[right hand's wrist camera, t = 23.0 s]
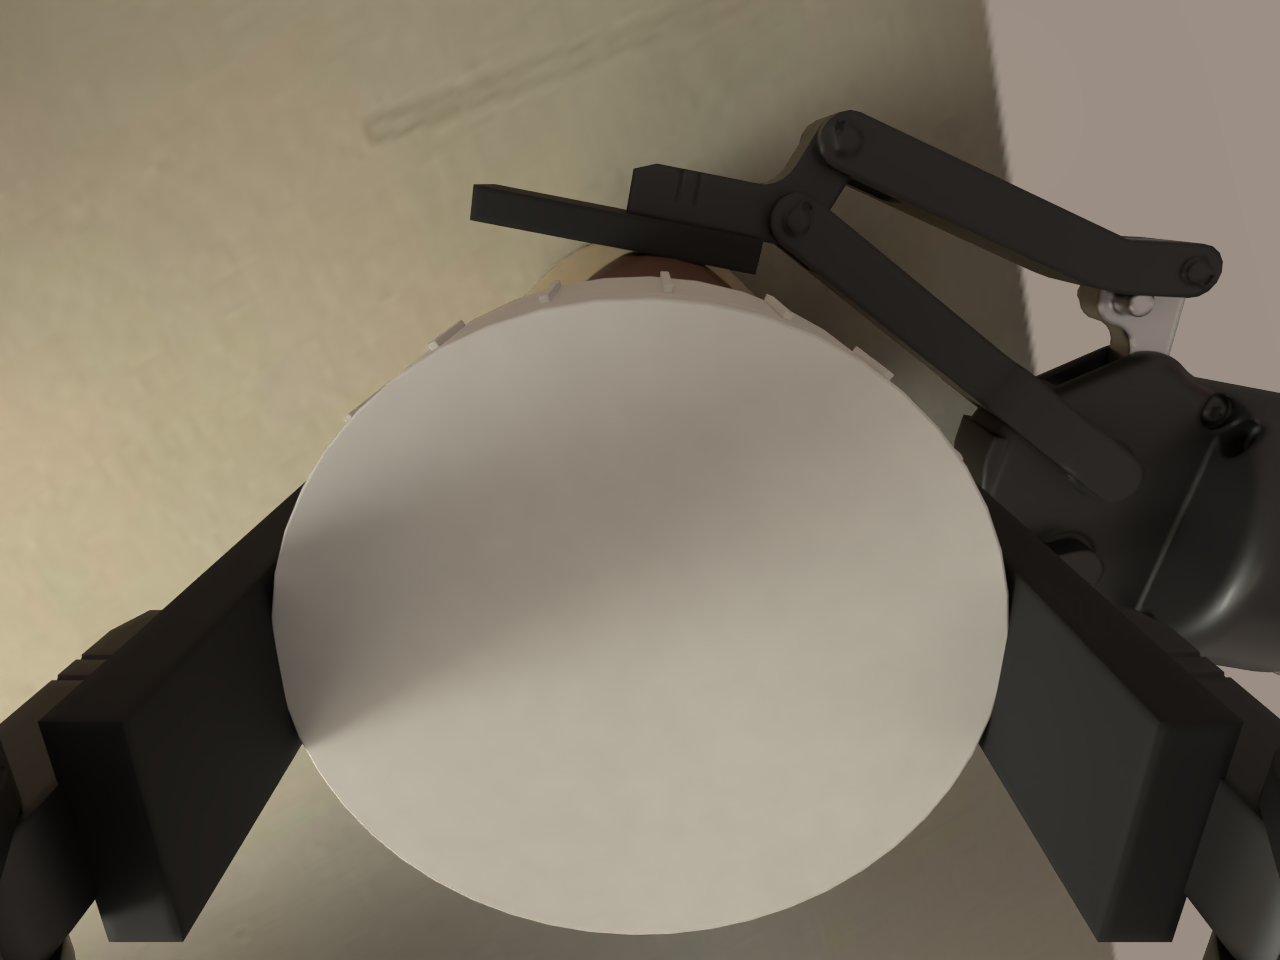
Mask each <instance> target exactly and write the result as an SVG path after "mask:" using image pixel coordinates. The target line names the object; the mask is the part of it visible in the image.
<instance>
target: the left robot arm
mask: <svg viewBox="0 0 1280 960" xmlns="http://www.w3.org/2000/svg"><path fill="white" fill-rule="evenodd" d="M845 186H848V187H851V188H853V189H855V190H857V191H859V192H862V193H864V194H866V195H868V196H870V197H872V198H875V199H877V200H879V201H881V202H883V203H885V204H888V205H890V206H892V207H894V208H896V209H898V210H901V211H903V212H905V213H907V214H909V215H912V216H914V217H916V218H918V219H920V220H922V221H925V222H927V223H929V224H931V225H933V226H935V227H938V228H940V229H942V230H944V231H946V232H948V233H951V234H953V235H955V236H957V237H959V238H961V239H964V240H966V241H968V242H970V243H972V244H975V245H977V246H979V247H981V248H983V249H985V250H988V251H990V252H992V253H994V254H996V255H998V256H1001V257H1003V258H1005V259H1007V260H1009V261H1011V262H1014V263H1016V264H1018V265H1020V266H1022V267H1025V268H1027V269H1029V270H1031V271H1034V272H1036V273H1039V274H1041V275H1044V276H1046V277H1049V278H1053V279H1057V280H1062V281H1066V282H1070V283H1074V284H1078V285H1080V287H1079V289H1078V293H1077V296H1078V298H1079V300H1080V306H1081V309H1082V310H1083V312H1084V313H1085V314H1086V315H1087V316H1088V317H1091V318H1094V319H1096V320H1099V321H1102V322H1103V323H1104V324H1105V325H1106V326H1107V327H1108V329H1109V331H1110V336H1111V341H1110V345H1109V346H1105V347H1103V348H1100V349H1098V350H1096V351H1093V352H1091V353H1089V354H1086V355H1084V356H1082V357H1079V358H1077V359H1075V360H1073V361H1070V362H1068V363H1066V364H1063V365H1061V366H1059V367H1056V368H1054V369H1052V370H1049V371H1047V372H1045V373H1042V374H1040V375H1038V376H1034V375H1033V374H1031V373H1030V372H1029V371H1027V370H1026V369H1024V368H1023V367H1021V366H1020V365H1018V364H1017V363H1015V362H1014V361H1013V360H1011V359H1010V358H1009V357H1007V356H1006V355H1005V354H1004V353H1002V352H1001V351H1000V350H999V349H998V348H996V347H995V346H994V345H993V344H992V343H990V342H989V341H988V340H987V339H985V338H984V337H983V336H982V335H981V334H979V333H978V332H977V331H976V330H975V329H973V328H972V327H971V326H970V325H968V324H967V323H966V322H965V321H964V320H962V319H961V318H960V317H959V316H958V315H956V314H955V313H954V312H953V311H952V310H950V309H949V308H948V307H947V306H945V305H944V304H943V303H942V302H941V301H939V300H938V299H937V298H936V297H935V296H933V295H932V294H931V293H930V292H929V291H927V290H926V289H925V288H924V287H922V286H921V285H920V284H919V283H918V282H916V281H915V280H914V279H913V278H912V277H910V276H909V275H908V274H907V273H906V272H904V271H903V270H902V269H901V268H899V267H898V266H897V265H896V264H895V263H893V262H892V261H891V260H890V259H889V258H887V257H886V256H885V255H884V254H882V253H881V252H880V251H879V250H878V249H876V248H875V247H874V246H873V245H872V244H870V243H869V242H868V241H867V240H866V239H864V238H863V237H862V236H861V235H859V234H858V233H857V232H856V231H855V230H853V229H852V228H851V227H850V226H849V225H847V224H846V223H845V222H844V221H843V220H841V219H840V218H839V217H838V216H836V215H835V214H834V213H833V212H832V211H830V209H831V208H832V206H833V204H834V203H835V201H836V200H837V198H838V197H839V195H840V193H841V192H842V190H843V189H844V187H845ZM470 220H473V221H478V222H483V223H489V224H494V225H499V226H504V227H509V228H515V229H520V230H525V231H530V232H536V233H541V234H546V235H551V236H556V237H562V238H567V239H572V240H577V241H583V242H588V243H593V244H598V245H603V246H609V247H614V248H619V249H624V250H630V251H635V252H640V253H645V254H650V255H656V256H661V257H666V258H672V259H677V260H682V261H687V262H692V263H697V264H703V265H708V266H713V267H718V268H724V269H729V270H734V271H739V272H744V273H750V274H756V270H757V266H758V261H759V257H760V253H761V248H762V244H763V242H768V243H773V244H774V245H776V246H777V247H778V248H779V249H781V250H782V251H783V252H785V253H786V254H787V255H788V256H790V257H791V258H792V259H793V260H795V261H796V262H797V263H798V264H800V265H801V266H802V267H803V268H805V269H806V270H807V271H808V272H810V273H811V274H812V275H813V276H815V277H816V278H817V279H818V280H820V281H821V282H822V283H823V284H825V285H826V286H827V287H828V288H830V289H831V290H832V291H833V292H835V293H836V294H837V295H838V296H840V297H841V298H842V299H843V300H845V301H846V302H847V303H848V304H850V305H851V306H852V307H853V308H855V309H856V310H857V311H858V312H860V313H861V314H862V315H863V316H865V317H866V318H867V319H868V320H870V321H871V322H872V323H873V324H875V325H876V326H877V327H878V328H880V329H881V330H882V331H884V332H885V333H886V334H887V335H889V336H890V337H891V338H892V339H894V340H895V341H896V342H897V343H899V344H900V345H901V346H902V347H904V348H905V349H906V350H907V351H909V352H910V353H911V354H912V355H914V356H915V357H916V358H917V359H919V360H920V361H921V362H922V363H924V364H925V365H926V366H927V367H929V368H930V369H931V370H932V371H934V372H935V373H936V374H937V375H939V376H940V377H941V378H942V379H943V380H944V381H945V382H946V383H947V384H949V385H950V386H951V387H952V388H954V389H955V390H956V391H957V392H959V393H960V394H961V395H962V396H964V397H965V398H966V399H968V400H969V401H970V402H971V403H973V404H974V405H975V406H976V407H978V409H977V410H976V411H975V412H974V414H973V415H972V416H968V415H963V418H962V421H961V424H960V427H959V430H958V433H957V436H956V438H955V444H954V448H955V449H956V450H957V451H958V452H959V453H960V454H961V456H962V457H963V462H964V463H965V465H966V466H967V468H968V470H969V472H970V474H971V476H972V478H973V480H974V481H975V482H976V483H977V484H978V485H980V486H981V487H982V488H983V489H984V490H985V491H986V492H987V493H988V494H990V495H991V496H992V497H993V498H994V499H995V500H996V501H997V502H999V503H1000V504H1001V505H1002V506H1003V507H1004V508H1005V509H1006V510H1007V511H1009V512H1010V513H1011V514H1012V515H1013V516H1014V517H1015V518H1016V519H1018V520H1019V521H1020V522H1021V523H1022V524H1023V525H1024V526H1025V527H1026V528H1028V529H1029V530H1030V531H1031V532H1032V533H1033V534H1034V535H1035V536H1037V537H1038V538H1039V539H1040V540H1041V541H1042V542H1043V543H1044V544H1045V545H1047V546H1048V547H1049V548H1050V549H1051V550H1052V551H1053V552H1054V553H1056V554H1057V555H1058V556H1059V557H1060V558H1061V559H1062V560H1063V561H1064V562H1066V563H1067V564H1068V565H1069V566H1070V567H1071V568H1072V569H1073V570H1075V571H1076V572H1077V573H1078V574H1079V575H1080V576H1081V577H1082V578H1083V579H1085V580H1086V581H1087V582H1088V583H1089V584H1090V585H1091V586H1092V587H1094V588H1095V589H1096V590H1097V591H1098V592H1099V593H1100V594H1101V595H1102V596H1104V597H1105V598H1106V599H1107V600H1108V601H1109V602H1110V603H1111V604H1113V605H1114V606H1115V607H1116V608H1134V609H1135V610H1137V611H1139V612H1141V613H1143V614H1145V615H1147V616H1149V617H1151V618H1153V619H1155V620H1157V621H1159V622H1161V623H1163V624H1165V625H1167V626H1169V627H1171V628H1172V629H1173V630H1175V631H1176V632H1177V633H1178V634H1179V635H1180V636H1182V637H1183V638H1184V639H1185V640H1186V641H1188V642H1189V643H1190V644H1191V645H1192V646H1194V647H1195V648H1196V649H1197V650H1198V651H1200V656H1201V657H1207V658H1208V659H1209V660H1210V661H1211V662H1213V663H1214V664H1215V665H1220V666H1226V667H1232V668H1238V669H1244V670H1250V671H1259V672H1273V673H1275V674H1278V675H1280V393H1276V392H1271V391H1266V390H1261V389H1256V388H1250V387H1245V386H1240V385H1234V384H1229V383H1224V382H1219V381H1213V380H1208V379H1203V378H1197V377H1194V376H1192V375H1191V374H1190V373H1188V372H1187V371H1186V370H1185V368H1184V367H1183V366H1182V365H1181V364H1180V363H1179V362H1178V361H1177V360H1175V359H1174V358H1172V357H1170V356H1169V354H1170V350H1171V347H1172V343H1173V340H1174V336H1175V332H1176V329H1177V325H1178V322H1179V318H1180V315H1181V311H1182V308H1183V304H1184V301H1185V298H1191V297H1197V296H1200V295H1202V294H1204V293H1206V292H1208V291H1209V290H1210V289H1211V288H1212V287H1213V286H1214V285H1215V284H1216V283H1217V281H1218V279H1219V277H1220V275H1221V273H1222V264H1223V261H1222V258H1221V255H1220V253H1219V252H1218V251H1217V250H1216V249H1215V248H1214V247H1213V246H1209V245H1206V244H1200V243H1191V242H1181V241H1172V240H1163V239H1154V238H1144V237H1128V236H1120V235H1118V234H1116V233H1113V232H1111V231H1109V230H1107V229H1105V228H1103V227H1101V226H1099V225H1097V224H1095V223H1092V222H1090V221H1088V220H1086V219H1084V218H1082V217H1080V216H1078V215H1076V214H1074V213H1071V212H1069V211H1067V210H1065V209H1063V208H1061V207H1059V206H1057V205H1055V204H1052V203H1050V202H1048V201H1046V200H1044V199H1042V198H1040V197H1038V196H1036V195H1034V194H1031V193H1029V192H1027V191H1025V190H1023V189H1021V188H1019V187H1017V186H1015V185H1013V184H1010V183H1008V182H1006V181H1004V180H1002V179H1000V178H998V177H996V176H994V175H991V174H989V173H987V172H985V171H983V170H981V169H979V168H977V167H975V166H973V165H970V164H968V163H966V162H964V161H962V160H960V159H958V158H956V157H954V156H952V155H949V154H947V153H945V152H943V151H941V150H939V149H937V148H935V147H933V146H930V145H928V144H926V143H924V142H922V141H920V140H918V139H916V138H914V137H912V136H909V135H907V134H905V133H903V132H901V131H899V130H897V129H895V128H893V127H891V126H888V125H886V124H884V123H882V122H880V121H878V120H876V119H874V118H872V117H869V116H867V115H865V114H863V113H861V112H857V111H852V110H848V111H843V112H839V113H836V114H833V115H830V116H828V117H825V118H822V119H819V120H816V121H815V122H813V123H812V124H810V125H809V126H808V127H807V128H806V129H805V131H804V132H803V134H802V135H801V139H800V143H799V145H798V147H797V148H796V150H795V152H794V153H793V155H792V157H791V158H790V160H789V162H788V163H787V165H786V167H785V168H784V169H783V171H782V172H781V173H780V174H779V175H778V176H777V177H775V178H774V179H773V180H770V181H768V182H766V183H762V184H757V183H752V182H747V181H742V180H737V179H732V178H727V177H721V176H716V175H711V174H706V173H701V172H696V171H691V170H686V169H681V168H676V167H671V166H666V165H661V164H654V165H649V166H644V167H640V168H635V169H634V170H633V176H632V182H631V187H630V193H629V199H628V205H627V210H624V209H619V208H614V207H609V206H604V205H599V204H594V203H589V202H583V201H578V200H573V199H568V198H563V197H558V196H553V195H547V194H542V193H537V192H532V191H527V190H522V189H517V188H512V187H506V186H501V185H496V184H474V187H473V196H472V206H471V216H470Z"/></svg>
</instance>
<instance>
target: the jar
mask: <svg viewBox="0 0 1280 960" xmlns="http://www.w3.org/2000/svg"><path fill="white" fill-rule="evenodd" d="M661 271H665V272H669V275H670V278H672V279H682V280H692V281H700V282H704V283H708V284H712V285H716V286H721V287H725V288H729V289H733V290H738V291H742V292H745V293H747V294H750V295H752V296H755V295H754V294H753V293H752V292H751V291H750V290H749V289H748V288H747V287H746V286H745V285H744V284H743V283H742V282H741V281H740V280H739V279H738V278H737V277H736V276H735V275H734V274H733V273H732V272H731V271H730V270H729V269H724V268H718V267H713V266H708V265H703V264H697V263H692V262H687V261H682V260H677V259H672V258H666V257H661V256H656V255H650V254H645V253H640V252H635V251H630V250H624V249H619V248H614V247H609V246H603V245H598V244H593V243H592V244H590V245H588V246H585V247H583V248H581V249H579V250H577V251H576V252H574V253H572V254H571V255H569V256H568V257H566V258H565V259H563V260H562V261H561V262H560V263H558V264H557V265H556V266H555V267H554V268H553V269H551V270H550V271H549V272H548V273H547V274H546V275H545V276H544V277H543V278H542V279H541V280H540V281H539V282H538V283H537V284H536V285H535V286H534V287H533V288H532V289H531V290H530V291H529V292H528V293H527V294H526V295H525V296H524V297H526V296H529V295H532V294H535V293H538V292H541V291H545V290H546V289H547V288H548V286H549V285H550V284H551V283H552V282H553V281H557V280H560V281H561V285H568V284H574V283H579V282H585V281H591V280H597V279H602V278H623V277H649V276H651V277H660V273H661ZM755 297H756V296H755Z"/></svg>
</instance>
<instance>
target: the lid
mask: <svg viewBox="0 0 1280 960" xmlns="http://www.w3.org/2000/svg"><path fill="white" fill-rule="evenodd" d="M428 346H429V347H430V348H431V349H430V350H429V351H427V352H426V353H425V354H424V355H422V356H421V357H420V358H419V359H417V360H416V361H415V362H413V363H412V364H411V365H410V366H408V367H407V368H406V369H405V370H403V371H402V372H401V373H400V374H398V375H397V376H396V377H395V378H393V379H392V380H391V381H390V382H389V383H388V384H387V385H385V386H383V387H382V388H381V389H379V390H378V391H377V392H376V393H374V394H373V395H372V396H371V397H369V398H368V399H367V400H366V401H364V402H363V403H362V404H361V405H359V406H358V407H357V408H355V409H354V410H353V411H352V412H350V413H349V414H348V415H347V416H346V418H345V419H344V421H346V422H347V424H346V425H345V426H344V427H343V429H342V430H341V431H340V432H339V433H338V435H337V436H336V437H335V438H334V439H333V441H332V442H331V443H330V444H329V445H328V447H327V448H326V449H325V451H324V453H323V454H322V456H321V458H320V459H319V461H318V463H317V464H316V466H315V468H314V469H313V471H312V473H311V474H310V476H309V478H308V479H307V481H306V483H305V484H304V486H303V487H302V489H301V492H300V494H299V497H298V499H297V502H296V504H295V507H294V509H293V512H292V514H291V516H290V519H289V521H288V524H287V526H286V529H285V532H284V536H283V540H282V545H281V549H280V553H279V557H278V562H277V566H276V570H275V577H274V591H273V604H272V626H273V632H274V638H275V644H276V650H277V655H278V661H279V666H280V671H281V676H282V682H283V687H284V692H285V697H286V702H287V706H288V710H289V712H290V715H291V718H292V720H293V723H294V725H295V728H296V730H297V733H298V735H299V738H300V739H301V741H302V743H303V745H304V747H305V748H306V750H307V752H308V754H309V756H310V757H311V759H312V761H313V763H314V764H315V766H316V768H317V770H318V772H319V773H320V774H321V776H322V777H323V778H324V780H325V781H326V783H327V784H328V785H329V787H330V788H331V789H332V791H333V792H334V793H335V795H336V796H337V797H338V799H339V800H340V801H341V803H342V804H343V805H344V806H345V807H346V808H347V809H348V810H349V811H350V812H351V813H352V815H353V816H354V817H355V818H356V819H357V820H358V821H359V822H360V823H361V824H362V825H363V826H364V827H365V828H366V829H367V830H368V831H369V832H370V833H371V834H372V835H373V836H374V837H376V838H377V839H378V840H379V841H380V842H382V843H383V844H384V845H385V846H386V847H388V848H389V849H390V850H391V851H393V852H394V853H395V854H396V855H397V856H399V857H400V858H401V859H402V860H404V861H405V862H407V863H408V864H410V865H412V866H413V867H415V868H416V869H418V870H419V871H421V872H422V873H424V874H425V875H427V876H428V877H430V878H432V879H433V880H435V881H436V882H438V883H440V884H442V885H444V886H446V887H448V888H450V889H452V890H454V891H456V892H458V893H460V894H462V895H464V896H466V897H468V898H470V899H472V900H474V901H477V902H479V903H482V904H485V905H487V906H490V907H492V908H495V909H498V910H500V911H503V912H506V913H508V914H511V915H515V916H518V917H522V918H526V919H529V920H533V921H537V922H540V923H544V924H548V925H552V926H558V927H564V928H570V929H576V930H582V931H588V932H599V933H613V934H628V935H641V934H674V933H682V932H690V931H698V930H706V929H714V928H718V927H723V926H727V925H732V924H736V923H741V922H745V921H749V920H754V919H757V918H760V917H763V916H766V915H769V914H772V913H775V912H778V911H781V910H784V909H787V908H790V907H793V906H795V905H797V904H799V903H802V902H804V901H806V900H808V899H810V898H813V897H815V896H817V895H819V894H822V893H824V892H826V891H828V890H830V889H832V888H834V887H835V886H837V885H839V884H840V883H842V882H844V881H846V880H847V879H849V878H851V877H852V876H854V875H856V874H858V873H859V872H861V871H863V870H864V869H866V868H867V867H868V866H870V865H871V864H872V863H874V862H875V861H877V860H878V859H879V858H881V857H882V856H883V855H885V854H886V853H887V852H889V851H890V850H891V849H893V848H894V847H895V846H897V845H898V844H899V843H900V842H901V841H902V840H903V839H904V838H905V837H906V836H907V835H908V834H910V833H911V832H912V831H913V830H914V829H915V828H916V827H917V826H918V825H919V824H920V823H921V822H922V821H923V820H925V819H926V817H927V816H928V815H929V814H930V813H931V812H932V810H933V809H934V808H935V807H936V806H937V804H938V803H939V802H940V801H941V800H942V798H943V797H944V796H945V795H946V794H947V792H948V791H949V790H950V789H951V788H952V786H953V785H954V783H955V782H956V780H957V778H958V777H959V775H960V774H961V772H962V771H963V769H964V767H965V766H966V764H967V763H968V761H969V760H970V758H971V757H972V755H973V753H974V751H975V749H976V747H977V745H978V743H979V741H980V738H981V736H982V734H983V732H984V730H985V728H986V726H987V723H988V721H989V719H990V717H991V714H992V711H993V707H994V702H995V697H996V693H997V688H998V683H999V677H1000V672H1001V667H1002V662H1003V656H1004V651H1005V646H1006V640H1007V634H1008V627H1009V601H1008V587H1007V581H1006V574H1005V568H1004V562H1003V556H1002V550H1001V547H1000V544H999V541H998V537H997V534H996V531H995V528H994V525H993V522H992V519H991V516H990V513H989V510H988V507H987V505H986V503H985V501H984V499H983V497H982V495H981V493H980V491H979V489H978V487H977V486H976V484H975V482H974V480H973V478H972V476H971V474H970V472H969V470H968V468H967V466H966V465H965V463H964V462H963V457H962V456H961V454H960V453H959V452H958V451H957V450H956V449H955V448H953V447H952V445H951V444H950V442H949V441H948V440H947V438H946V437H945V436H944V434H943V433H942V431H941V430H940V429H939V427H938V426H937V425H936V424H935V423H934V422H933V421H932V420H931V419H930V418H929V417H928V416H927V415H926V414H925V413H924V412H923V411H922V410H921V409H920V408H919V407H918V406H917V405H916V404H915V403H914V402H913V401H912V400H911V399H910V398H909V397H908V396H907V395H906V394H905V393H904V392H903V391H902V390H901V389H900V388H898V387H897V386H896V385H894V384H893V383H892V382H891V381H890V380H891V378H892V377H893V376H894V374H892V373H891V372H890V371H889V370H888V369H886V368H885V367H884V366H882V365H881V364H880V363H878V362H877V361H876V360H874V359H873V358H872V357H870V356H869V355H868V354H866V353H865V352H864V351H862V350H861V349H860V348H858V347H857V346H856V347H855V348H854V349H853V351H851V350H850V349H849V348H847V347H846V346H845V345H843V344H842V343H841V342H839V341H838V340H837V339H835V338H834V337H833V336H832V335H830V334H829V333H828V332H826V331H825V330H823V329H822V328H820V327H818V326H816V325H814V324H813V323H811V322H809V321H807V320H805V319H804V318H802V317H800V316H798V315H796V314H795V313H793V312H791V311H790V310H789V309H787V308H786V307H785V306H784V305H783V304H781V303H780V302H779V301H778V300H777V299H776V298H774V297H773V296H771V295H768V294H766V297H765V299H764V300H763V299H760V298H758V297H755V296H752V295H750V294H747V293H745V292H742V291H738V290H733V289H729V288H725V287H721V286H716V285H712V284H708V283H704V282H700V281H692V280H682V279H672V278H670V275H669V272H665V271H661V273H660V277H651V276H649V277H623V278H602V279H597V280H591V281H585V282H579V283H574V284H568V285H561V281H560V280H557V281H553V282H552V283H551V284H550V285H549V286H548V288H547V289H546V290H545V291H541V292H538V293H535V294H532V295H529V296H526V297H523V298H519V299H516V300H514V301H512V302H509V303H507V304H505V305H503V306H501V307H499V308H497V309H495V310H493V311H491V312H488V313H486V314H484V315H482V316H480V317H478V318H476V319H474V320H472V321H471V322H469V323H468V324H466V325H465V324H464V322H463V321H462V320H460V321H459V322H457V323H455V324H454V325H453V326H452V327H450V328H449V329H448V330H446V331H445V332H444V333H442V334H441V335H440V336H438V337H437V338H436V339H434V340H433V341H432V342H430V343H429V344H428Z"/></svg>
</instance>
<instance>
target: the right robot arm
mask: <svg viewBox="0 0 1280 960" xmlns="http://www.w3.org/2000/svg"><path fill="white" fill-rule="evenodd" d="M974 482H975V481H974ZM305 483H306V482H305ZM305 483H304V484H305ZM304 484H303V485H301V486H300V487H299V488H298V489H297V490H296V491H295V492H294V493H292V494H291V495H290V496H289V497H288V498H287V499H286V500H285V501H284V502H282V503H281V504H280V505H279V506H278V507H277V508H276V509H275V510H273V511H272V512H271V513H270V514H269V515H268V516H267V517H266V518H265V519H263V520H262V521H261V522H260V523H259V524H258V525H257V526H256V527H254V528H253V529H252V530H251V531H250V532H249V533H248V534H247V535H246V536H244V537H243V538H242V539H241V540H240V541H239V542H238V543H237V544H235V545H234V546H233V547H232V548H231V549H230V550H229V551H228V552H227V553H225V554H224V555H223V556H222V557H221V558H220V559H219V560H218V561H216V562H215V563H214V564H213V565H212V566H211V567H210V568H209V569H208V570H206V571H205V572H204V573H203V574H202V575H201V576H200V577H199V578H197V579H196V580H195V581H194V582H193V583H192V584H191V585H190V586H189V587H187V588H186V589H185V590H184V591H183V592H182V593H181V594H180V595H178V596H177V597H176V598H175V599H174V600H173V601H172V602H171V603H170V604H168V605H167V606H166V607H165V608H164V609H163V610H149V611H147V612H146V613H144V614H142V615H140V616H138V617H136V618H134V619H132V620H130V621H128V622H126V623H124V624H122V625H120V626H118V627H117V628H115V629H113V630H111V631H109V632H108V633H107V634H106V635H105V636H103V637H102V638H101V639H100V640H99V641H98V642H96V643H95V644H94V645H93V646H92V647H90V648H89V649H88V650H87V651H86V652H85V653H83V654H82V658H81V660H75V661H74V662H73V663H72V664H70V665H69V666H68V667H67V668H66V669H64V670H63V671H62V672H61V673H60V674H59V675H58V679H57V680H51V681H50V682H49V683H48V684H47V685H46V686H44V687H43V688H42V689H41V690H40V691H38V692H37V693H36V694H35V695H34V696H33V697H31V698H30V699H29V700H28V701H27V702H25V703H24V704H23V705H22V706H21V707H20V708H18V709H17V710H16V711H15V712H14V713H12V714H11V715H10V716H9V717H8V718H7V719H5V720H4V721H3V722H2V723H1V724H0V960H76V958H75V952H74V948H73V945H72V943H71V940H70V937H69V933H70V932H71V931H72V929H73V928H74V927H75V925H76V924H77V923H78V921H79V920H80V919H81V917H82V916H83V915H84V913H85V912H86V911H87V909H88V908H89V907H90V906H91V904H92V903H93V902H94V900H96V903H97V906H98V909H99V912H100V915H101V919H102V922H103V925H104V928H105V931H106V934H107V937H108V940H109V942H183V941H184V939H185V938H186V936H187V934H188V933H189V931H190V929H191V928H192V926H193V924H194V923H195V921H196V919H197V918H198V916H199V914H200V913H201V911H202V909H203V908H204V906H205V904H206V903H207V901H208V899H209V898H210V896H211V894H212V893H213V891H214V889H215V888H216V886H217V884H218V883H219V881H220V879H221V878H222V876H223V874H224V873H225V871H226V869H227V868H228V866H229V864H230V863H231V861H232V859H233V858H234V856H235V855H236V853H237V851H238V850H239V848H240V846H241V845H242V843H243V841H244V840H245V838H246V836H247V835H248V833H249V831H250V830H251V828H252V826H253V825H254V823H255V821H256V820H257V818H258V816H259V815H260V813H261V811H262V810H263V808H264V806H265V805H266V803H267V801H268V800H269V798H270V796H271V795H272V793H273V791H274V790H275V788H276V786H277V785H278V783H279V781H280V780H281V778H282V776H283V775H284V773H285V771H286V770H287V768H288V766H289V765H290V763H291V761H292V760H293V758H294V756H295V755H296V753H297V751H298V750H299V748H300V746H301V745H302V741H301V739H300V738H299V735H298V733H297V730H296V728H295V725H294V723H293V720H292V718H291V715H290V712H289V710H288V706H287V702H286V697H285V692H284V687H283V682H282V676H281V671H280V666H279V661H278V655H277V650H276V644H275V638H274V632H273V626H272V604H273V591H274V577H275V570H276V566H277V562H278V557H279V553H280V549H281V545H282V540H283V536H284V532H285V529H286V526H287V524H288V521H289V519H290V516H291V514H292V512H293V509H294V507H295V504H296V502H297V499H298V497H299V494H300V492H301V489H302V487H303V486H304ZM975 484H976V486H977V487H978V489H979V491H980V493H981V495H982V497H983V499H984V501H985V503H986V505H987V507H988V510H989V513H990V516H991V519H992V522H993V525H994V528H995V531H996V534H997V537H998V541H999V544H1000V547H1001V550H1002V556H1003V562H1004V568H1005V574H1006V581H1007V587H1008V601H1009V627H1008V634H1007V640H1006V646H1005V651H1004V656H1003V662H1002V667H1001V672H1000V677H999V683H998V688H997V693H996V697H995V702H994V707H993V711H992V714H991V717H990V719H989V721H988V723H987V726H986V728H985V730H984V732H983V734H982V736H981V738H980V741H979V745H980V747H981V748H982V750H983V752H984V753H985V755H986V757H987V758H988V760H989V762H990V763H991V765H992V767H993V768H994V770H995V772H996V773H997V775H998V777H999V778H1000V780H1001V782H1002V783H1003V785H1004V787H1005V788H1006V790H1007V792H1008V793H1009V795H1010V797H1011V798H1012V800H1013V802H1014V803H1015V805H1016V807H1017V808H1018V810H1019V811H1020V813H1021V815H1022V816H1023V818H1024V820H1025V821H1026V823H1027V825H1028V826H1029V828H1030V830H1031V831H1032V833H1033V835H1034V836H1035V838H1036V840H1037V841H1038V843H1039V845H1040V846H1041V848H1042V850H1043V851H1044V853H1045V855H1046V856H1047V858H1048V860H1049V861H1050V863H1051V865H1052V866H1053V868H1054V870H1055V871H1056V873H1057V875H1058V876H1059V878H1060V880H1061V881H1062V883H1063V885H1064V886H1065V888H1066V890H1067V891H1068V893H1069V895H1070V896H1071V898H1072V900H1073V901H1074V903H1075V905H1076V906H1077V908H1078V910H1079V911H1080V913H1081V915H1082V916H1083V918H1084V919H1085V921H1086V923H1087V924H1088V926H1089V928H1090V929H1091V931H1092V933H1093V934H1094V936H1095V938H1096V939H1097V941H1098V942H1172V940H1173V937H1174V934H1175V931H1176V928H1177V925H1178V922H1179V919H1180V916H1181V913H1182V910H1183V907H1184V903H1185V900H1186V897H1188V898H1189V900H1190V901H1191V903H1192V904H1193V905H1194V906H1195V908H1196V909H1197V910H1198V912H1199V913H1200V914H1201V916H1202V917H1203V918H1204V919H1205V921H1206V922H1207V923H1208V925H1209V926H1210V927H1211V929H1212V930H1213V931H1212V934H1211V937H1210V940H1209V943H1208V945H1207V948H1206V951H1205V954H1204V957H1203V960H1280V719H1279V718H1278V717H1277V716H1276V715H1275V714H1273V713H1272V712H1271V711H1270V710H1269V709H1267V708H1266V707H1265V706H1264V705H1263V704H1262V703H1260V702H1259V701H1258V700H1257V699H1256V698H1254V697H1253V696H1252V695H1251V694H1250V693H1248V692H1247V691H1246V690H1245V689H1244V688H1242V687H1241V686H1240V685H1239V684H1238V683H1236V682H1235V681H1234V680H1233V679H1232V678H1230V677H1225V676H1224V672H1223V671H1222V670H1221V669H1220V668H1219V667H1217V666H1216V665H1215V664H1214V663H1213V662H1211V661H1210V660H1209V659H1208V658H1207V657H1201V656H1200V651H1198V650H1197V649H1196V648H1195V647H1194V646H1192V645H1191V644H1190V643H1189V642H1188V641H1186V640H1185V639H1184V638H1183V637H1182V636H1180V635H1179V634H1178V633H1177V632H1176V631H1175V630H1173V629H1172V628H1171V627H1169V626H1167V625H1165V624H1163V623H1161V622H1159V621H1157V620H1155V619H1153V618H1151V617H1149V616H1147V615H1145V614H1143V613H1141V612H1139V611H1137V610H1135V609H1134V608H1116V607H1115V606H1114V605H1113V604H1111V603H1110V602H1109V601H1108V600H1107V599H1106V598H1105V597H1104V596H1102V595H1101V594H1100V593H1099V592H1098V591H1097V590H1096V589H1095V588H1094V587H1092V586H1091V585H1090V584H1089V583H1088V582H1087V581H1086V580H1085V579H1083V578H1082V577H1081V576H1080V575H1079V574H1078V573H1077V572H1076V571H1075V570H1073V569H1072V568H1071V567H1070V566H1069V565H1068V564H1067V563H1066V562H1064V561H1063V560H1062V559H1061V558H1060V557H1059V556H1058V555H1057V554H1056V553H1054V552H1053V551H1052V550H1051V549H1050V548H1049V547H1048V546H1047V545H1045V544H1044V543H1043V542H1042V541H1041V540H1040V539H1039V538H1038V537H1037V536H1035V535H1034V534H1033V533H1032V532H1031V531H1030V530H1029V529H1028V528H1026V527H1025V526H1024V525H1023V524H1022V523H1021V522H1020V521H1019V520H1018V519H1016V518H1015V517H1014V516H1013V515H1012V514H1011V513H1010V512H1009V511H1007V510H1006V509H1005V508H1004V507H1003V506H1002V505H1001V504H1000V503H999V502H997V501H996V500H995V499H994V498H993V497H992V496H991V495H990V494H988V493H987V492H986V491H985V490H984V489H983V488H982V487H981V486H980V485H978V484H977V483H976V482H975Z"/></svg>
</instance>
